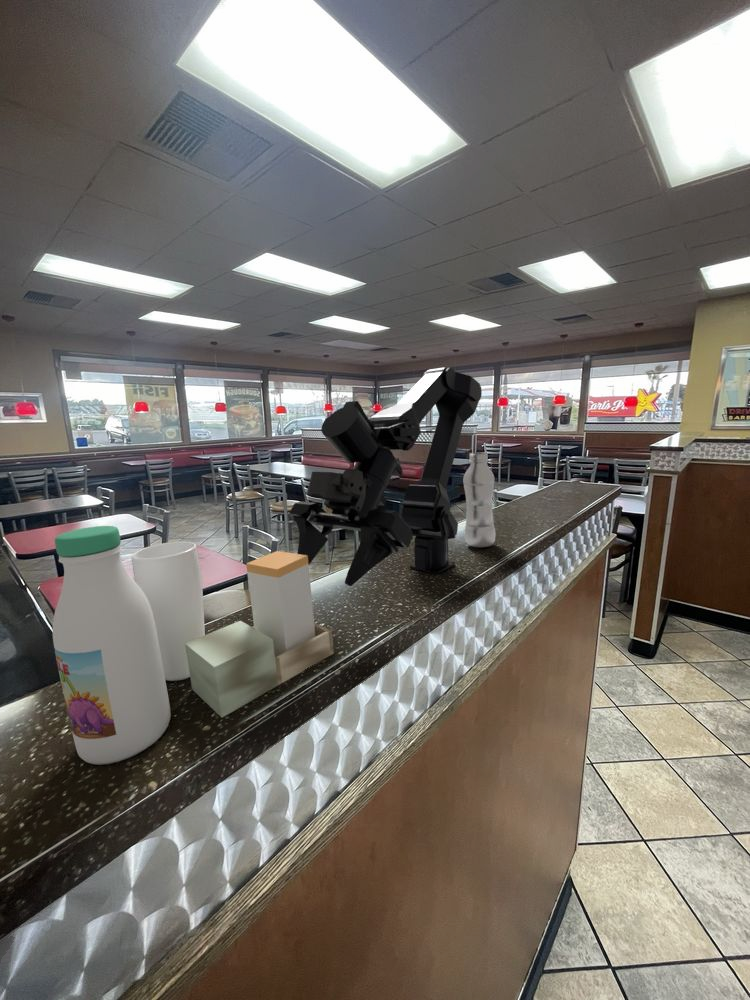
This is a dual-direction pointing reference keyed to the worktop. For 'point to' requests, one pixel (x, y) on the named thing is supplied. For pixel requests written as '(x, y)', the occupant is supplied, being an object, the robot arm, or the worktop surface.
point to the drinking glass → (172, 599)
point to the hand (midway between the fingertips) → (321, 578)
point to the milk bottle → (107, 650)
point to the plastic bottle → (479, 502)
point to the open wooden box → (247, 664)
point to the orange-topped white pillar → (282, 599)
